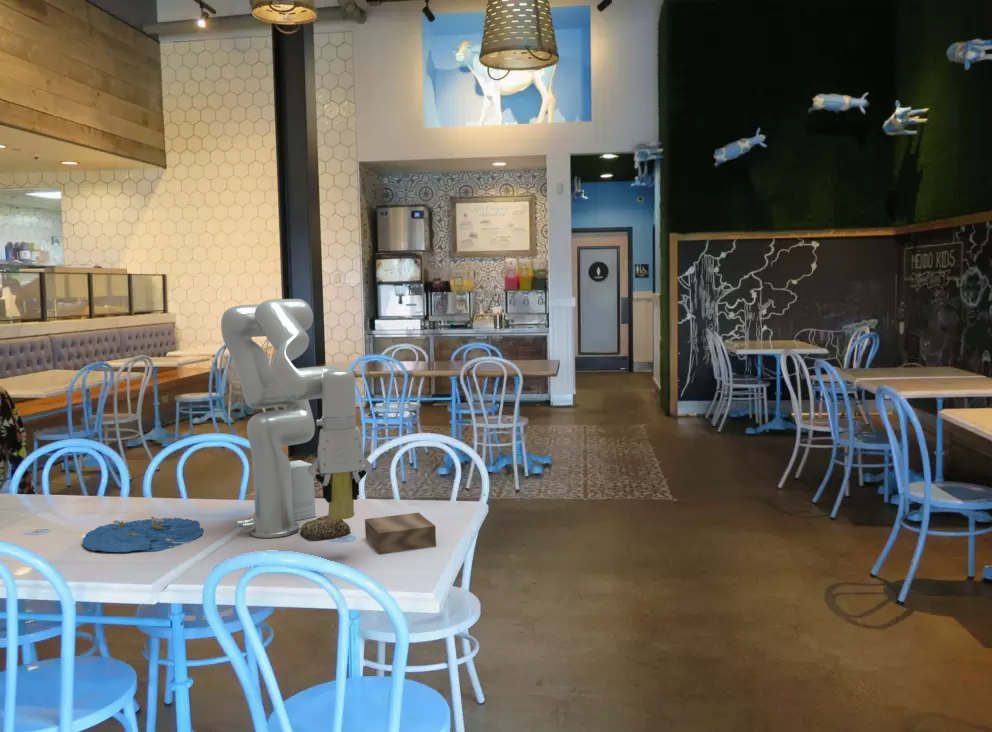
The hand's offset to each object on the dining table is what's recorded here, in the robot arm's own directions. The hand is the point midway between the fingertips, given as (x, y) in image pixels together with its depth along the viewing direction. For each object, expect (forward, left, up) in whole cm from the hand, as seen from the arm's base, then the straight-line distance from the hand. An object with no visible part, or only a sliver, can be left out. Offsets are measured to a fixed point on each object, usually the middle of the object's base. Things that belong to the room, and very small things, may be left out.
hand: (341, 499), depth 200 cm
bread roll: (0, +22, -14) cm, 26 cm away
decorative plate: (-43, +40, -14) cm, 61 cm away
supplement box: (-5, +42, -14) cm, 45 cm away
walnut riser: (+15, +5, -14) cm, 21 cm away
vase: (0, 0, -4) cm, 4 cm away
